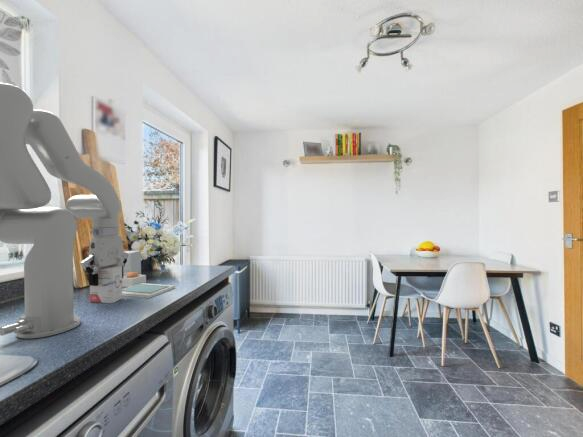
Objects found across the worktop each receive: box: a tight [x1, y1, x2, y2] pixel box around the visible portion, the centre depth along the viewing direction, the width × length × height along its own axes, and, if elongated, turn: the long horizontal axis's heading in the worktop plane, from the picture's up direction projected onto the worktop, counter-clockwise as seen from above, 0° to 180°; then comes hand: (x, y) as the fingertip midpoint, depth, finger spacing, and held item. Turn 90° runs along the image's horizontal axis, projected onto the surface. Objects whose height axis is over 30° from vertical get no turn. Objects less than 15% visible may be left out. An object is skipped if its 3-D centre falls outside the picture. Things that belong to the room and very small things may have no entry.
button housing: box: [122, 274, 147, 288], centre depth 116 cm, size 7×7×4 cm
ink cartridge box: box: [89, 258, 123, 304], centre depth 94 cm, size 9×5×15 cm, turn 85°
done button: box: [127, 272, 138, 278], centre depth 116 cm, size 4×4×2 cm
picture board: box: [122, 282, 176, 299], centre depth 106 cm, size 14×16×1 cm
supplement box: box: [123, 250, 142, 276], centre depth 126 cm, size 7×7×13 cm
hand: (107, 281), depth 95 cm, fingers open, 9 cm apart
